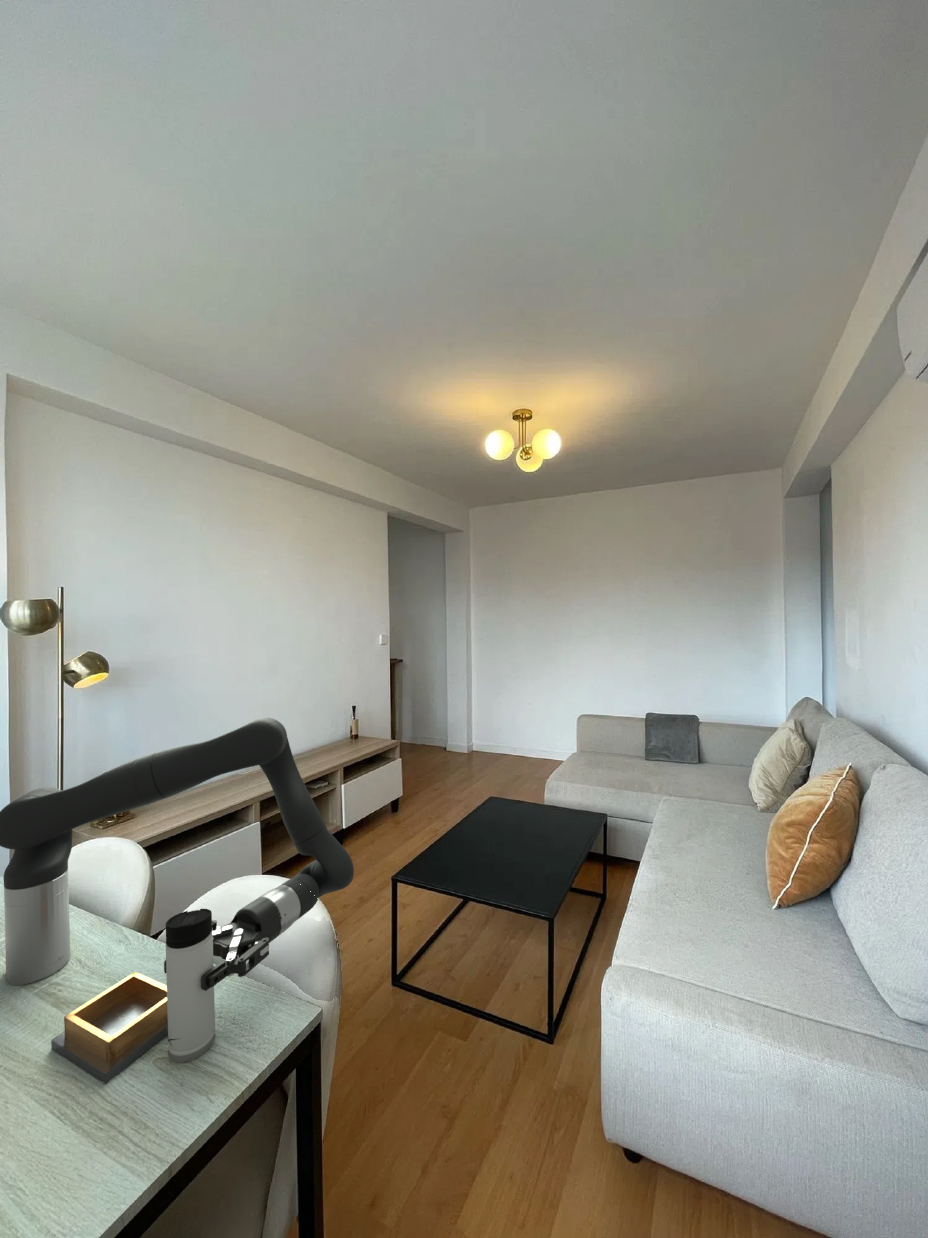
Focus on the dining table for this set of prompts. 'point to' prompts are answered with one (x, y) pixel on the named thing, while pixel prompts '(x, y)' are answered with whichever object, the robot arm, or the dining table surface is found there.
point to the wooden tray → (115, 1027)
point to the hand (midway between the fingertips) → (183, 976)
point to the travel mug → (189, 985)
